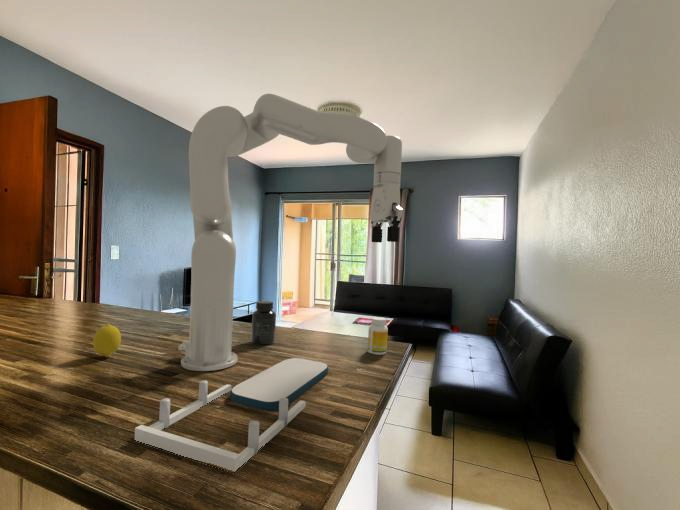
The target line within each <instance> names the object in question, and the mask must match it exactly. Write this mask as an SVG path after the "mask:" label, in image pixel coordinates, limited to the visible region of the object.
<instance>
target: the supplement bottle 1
mask: <svg viewBox="0 0 680 510" xmlns="http://www.w3.org/2000/svg"><path fill="white" fill-rule="evenodd" d="M255 309H256V310H255V311H253V312H252V315H251V316H252V318H251V342H250V343H252V344H253V345H256V346H270V345H273V344H274V343H275V341H276V324H277V323H276V321H277V314H276V312H275V311H274V310H273V309H274V302H273V301H270V300H261V301H260V300H259V301H256V306H255Z"/></svg>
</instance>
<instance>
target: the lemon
mask: <svg viewBox="0 0 680 510" xmlns="http://www.w3.org/2000/svg"><path fill="white" fill-rule="evenodd" d="M121 343H122V335H121V332H120V330H119V329H118V328H117V327H116V326H114V325H111V324H110V323H106V324H105V325H103V326H101V327H100V328H98V329H97V331H96V332H95V333H94V336H93V340H92V346H93V349H94V351H95V352H96V353H97V354H98V355H102V356H105V357H104V358H108V357H109V356H111V355H112V354H114V353H115V352H116V351H117V350H118V349H119V348H120V346H121ZM107 356H108V357H107Z"/></svg>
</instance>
